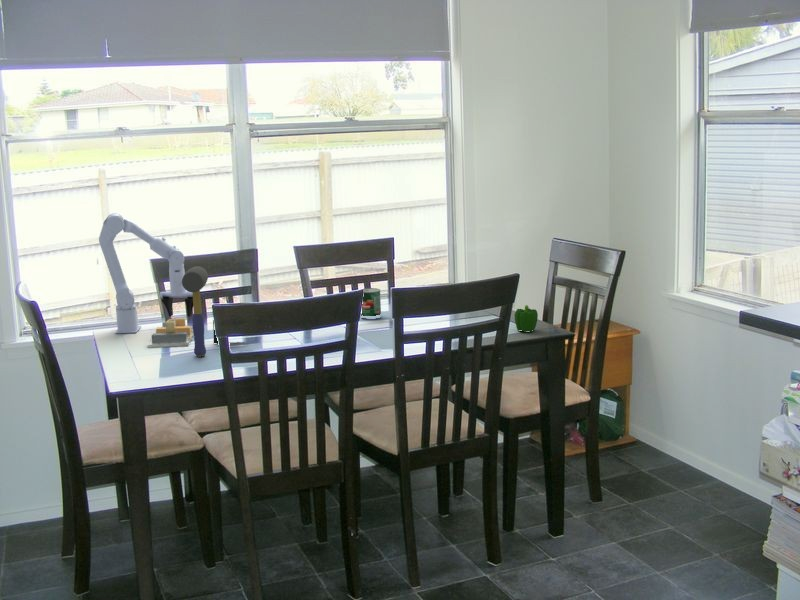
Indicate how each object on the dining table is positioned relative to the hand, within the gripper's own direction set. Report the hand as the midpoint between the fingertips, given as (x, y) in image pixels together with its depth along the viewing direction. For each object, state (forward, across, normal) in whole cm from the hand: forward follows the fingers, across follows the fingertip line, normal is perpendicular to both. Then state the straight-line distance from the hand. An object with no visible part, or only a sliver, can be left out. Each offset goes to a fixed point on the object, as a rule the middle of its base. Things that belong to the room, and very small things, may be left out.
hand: (180, 316), depth 354 cm
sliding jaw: (+3, +4, -13) cm, 14 cm away
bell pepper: (+5, +131, +6) cm, 131 cm away
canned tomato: (+4, +69, +22) cm, 73 cm away
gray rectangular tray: (+4, +6, -19) cm, 20 cm away
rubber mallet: (+4, +26, -41) cm, 48 cm away
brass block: (+3, +6, -22) cm, 23 cm away
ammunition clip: (+4, +28, -22) cm, 36 cm away
